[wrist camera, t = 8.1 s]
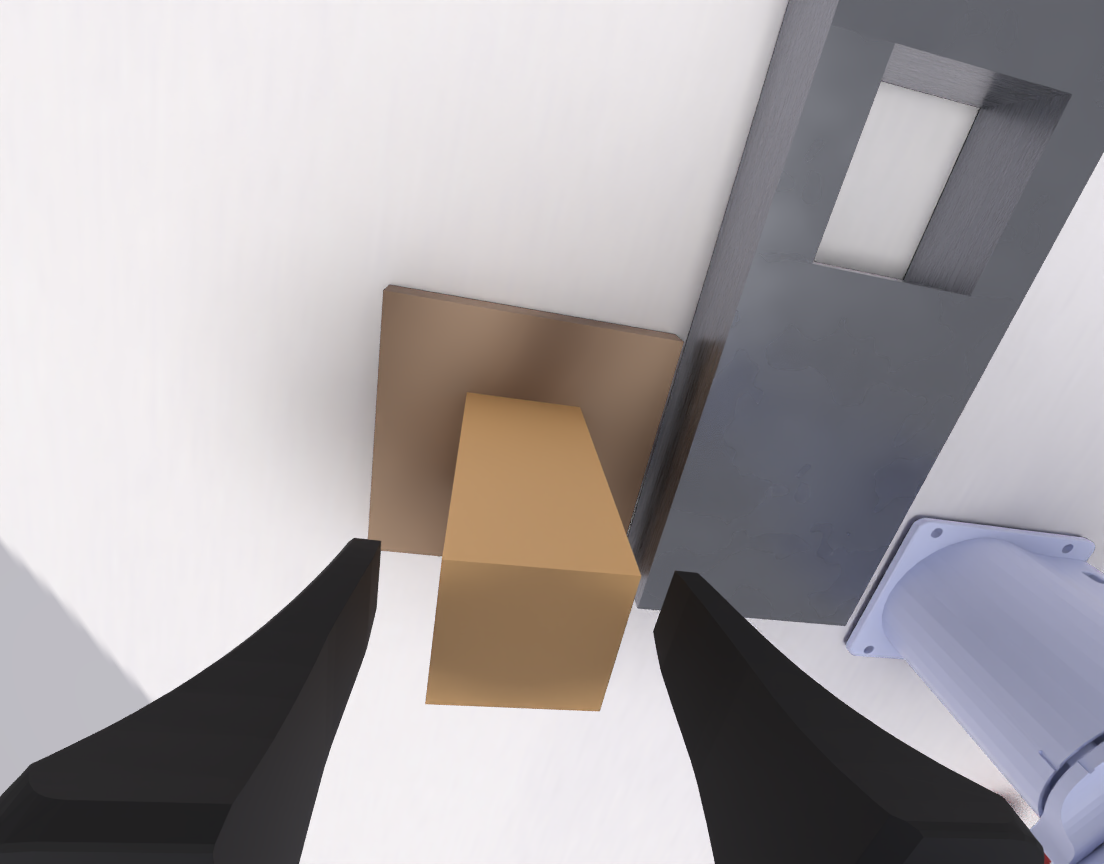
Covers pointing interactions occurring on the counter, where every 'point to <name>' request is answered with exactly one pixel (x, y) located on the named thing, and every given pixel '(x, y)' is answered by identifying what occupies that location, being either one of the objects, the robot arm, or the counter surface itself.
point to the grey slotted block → (859, 297)
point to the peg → (529, 564)
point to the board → (506, 371)
